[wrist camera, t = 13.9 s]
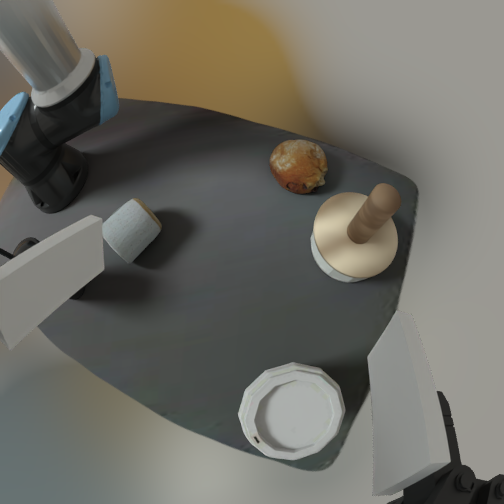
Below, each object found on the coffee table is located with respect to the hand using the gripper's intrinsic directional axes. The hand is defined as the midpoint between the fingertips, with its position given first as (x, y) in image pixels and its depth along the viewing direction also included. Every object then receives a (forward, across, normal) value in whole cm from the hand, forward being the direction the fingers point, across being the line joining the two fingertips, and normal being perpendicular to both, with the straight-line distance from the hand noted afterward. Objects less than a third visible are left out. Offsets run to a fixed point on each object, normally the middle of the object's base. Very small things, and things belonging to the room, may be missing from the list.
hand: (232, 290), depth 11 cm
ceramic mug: (+27, -23, -16) cm, 39 cm away
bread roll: (+41, 0, -2) cm, 41 cm away
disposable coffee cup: (+16, +7, -26) cm, 32 cm away
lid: (+29, +11, -6) cm, 32 cm away
